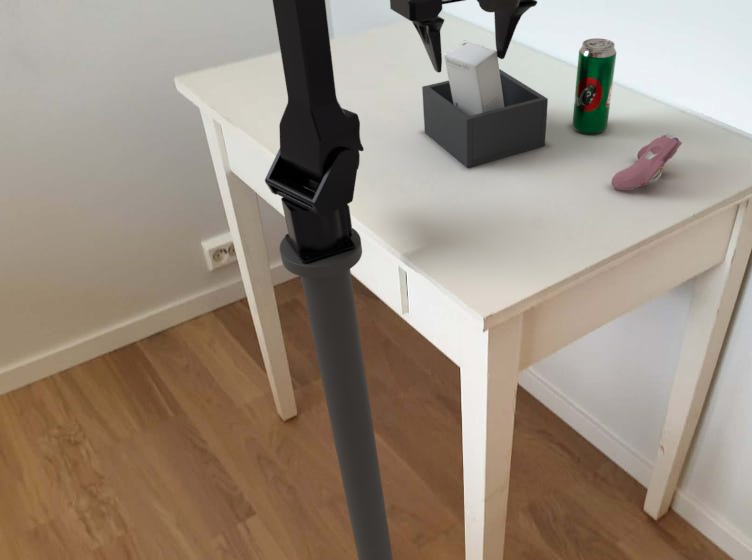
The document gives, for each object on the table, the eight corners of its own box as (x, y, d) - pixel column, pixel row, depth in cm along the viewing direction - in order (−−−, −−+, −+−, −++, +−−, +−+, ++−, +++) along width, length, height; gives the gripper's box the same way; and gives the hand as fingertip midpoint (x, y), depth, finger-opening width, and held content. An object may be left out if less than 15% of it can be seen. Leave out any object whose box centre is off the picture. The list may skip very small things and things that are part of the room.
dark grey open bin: (467, 168, 98) (466, 119, 93) (424, 132, 106) (422, 86, 101) (545, 145, 102) (548, 98, 98) (498, 113, 111) (498, 68, 106)
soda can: (611, 133, 105) (623, 48, 97) (578, 137, 104) (586, 51, 96) (600, 119, 108) (609, 35, 100) (567, 122, 108) (574, 38, 100)
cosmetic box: (457, 132, 104) (442, 54, 95) (477, 117, 106) (464, 38, 96) (488, 145, 101) (475, 66, 92) (509, 129, 102) (498, 49, 93)
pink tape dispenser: (633, 208, 93) (665, 169, 87) (605, 185, 93) (636, 145, 87) (662, 175, 99) (694, 137, 93) (636, 154, 99) (666, 115, 93)
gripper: (430, -52, 73) (435, 101, 83) (580, -73, 80) (567, 71, 90) (383, -73, 80) (392, 70, 90) (524, -91, 87) (518, 44, 97)
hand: (469, 64), depth 92 cm, fingers open, 9 cm apart
